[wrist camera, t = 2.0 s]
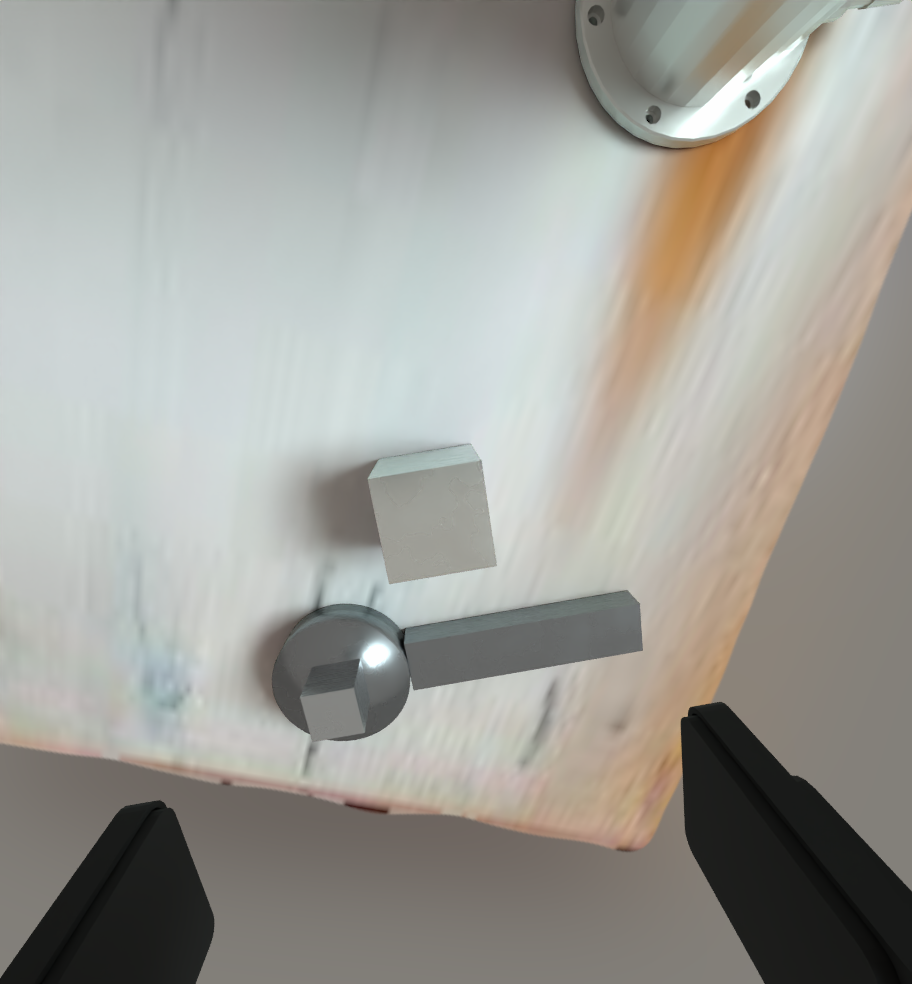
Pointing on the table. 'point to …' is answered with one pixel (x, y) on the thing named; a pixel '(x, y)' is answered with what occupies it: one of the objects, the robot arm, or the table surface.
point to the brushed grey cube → (432, 513)
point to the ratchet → (431, 656)
